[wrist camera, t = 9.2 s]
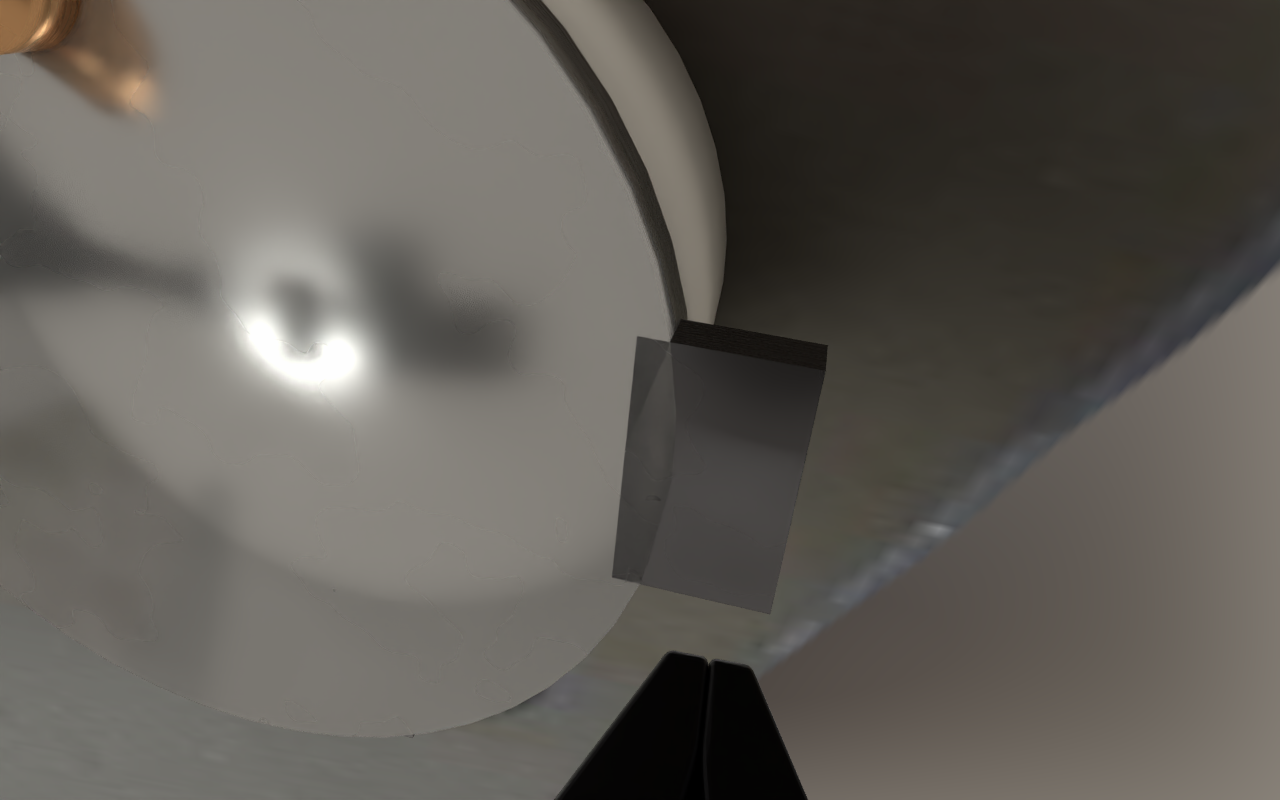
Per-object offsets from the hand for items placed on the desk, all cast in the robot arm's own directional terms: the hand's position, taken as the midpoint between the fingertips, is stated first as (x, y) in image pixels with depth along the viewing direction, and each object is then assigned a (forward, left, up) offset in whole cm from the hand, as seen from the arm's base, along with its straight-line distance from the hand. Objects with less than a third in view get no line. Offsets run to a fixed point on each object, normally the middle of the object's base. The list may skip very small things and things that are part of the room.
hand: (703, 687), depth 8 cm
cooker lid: (-4, -6, -5) cm, 9 cm away
